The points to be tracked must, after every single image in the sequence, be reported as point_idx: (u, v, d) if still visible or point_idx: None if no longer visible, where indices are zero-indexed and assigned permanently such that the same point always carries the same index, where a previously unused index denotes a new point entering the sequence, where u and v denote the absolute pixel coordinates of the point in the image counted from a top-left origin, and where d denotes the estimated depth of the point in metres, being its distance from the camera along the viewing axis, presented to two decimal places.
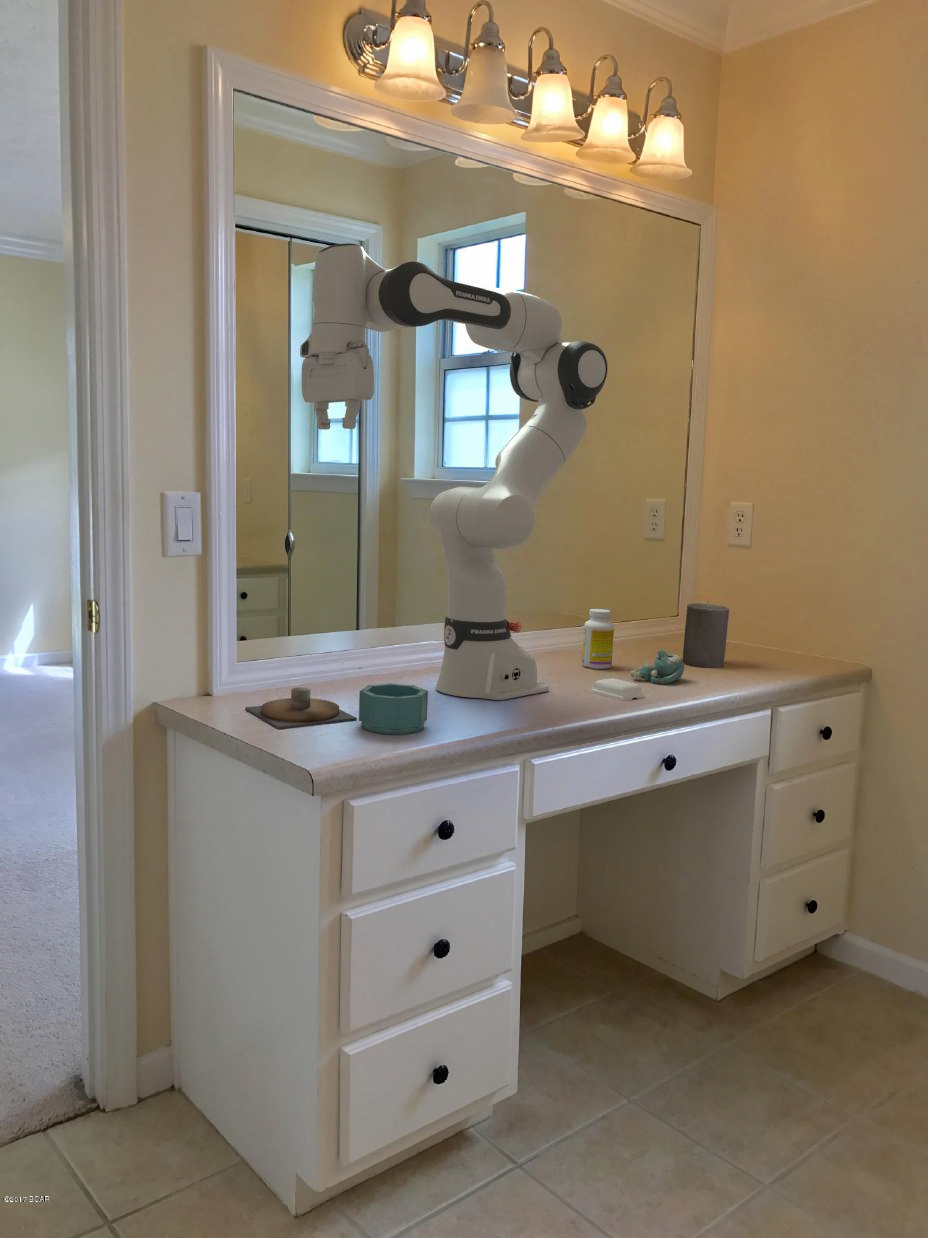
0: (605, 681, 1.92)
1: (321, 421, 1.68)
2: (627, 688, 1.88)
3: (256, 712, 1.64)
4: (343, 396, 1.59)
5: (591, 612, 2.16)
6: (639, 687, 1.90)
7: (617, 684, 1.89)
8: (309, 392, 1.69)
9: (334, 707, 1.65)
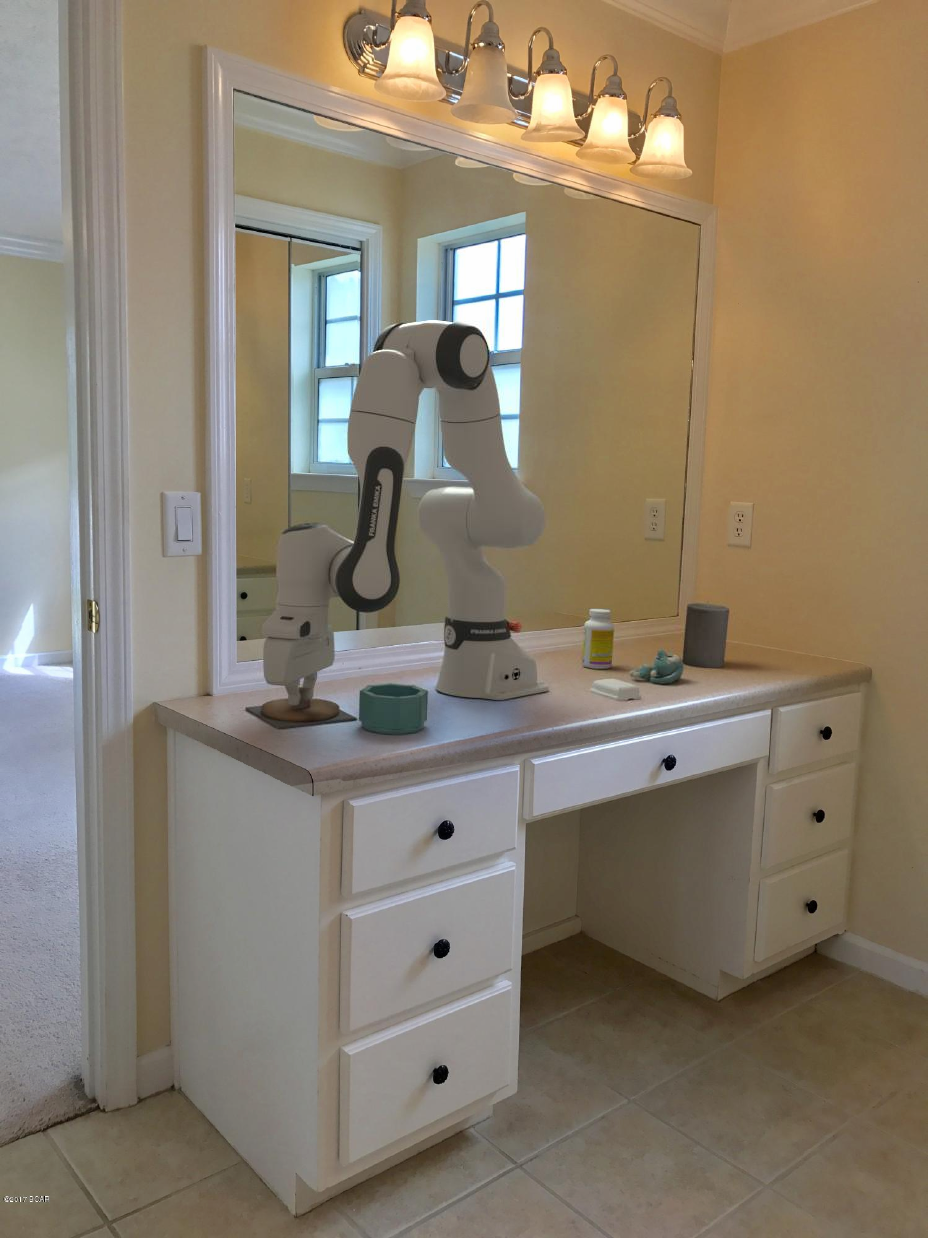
0: (603, 681, 1.91)
1: (301, 696, 1.63)
2: (623, 689, 1.87)
3: (256, 712, 1.64)
4: (325, 667, 1.69)
5: (591, 612, 2.16)
6: (636, 688, 1.89)
7: (613, 685, 1.89)
8: (293, 674, 1.57)
9: (334, 707, 1.65)
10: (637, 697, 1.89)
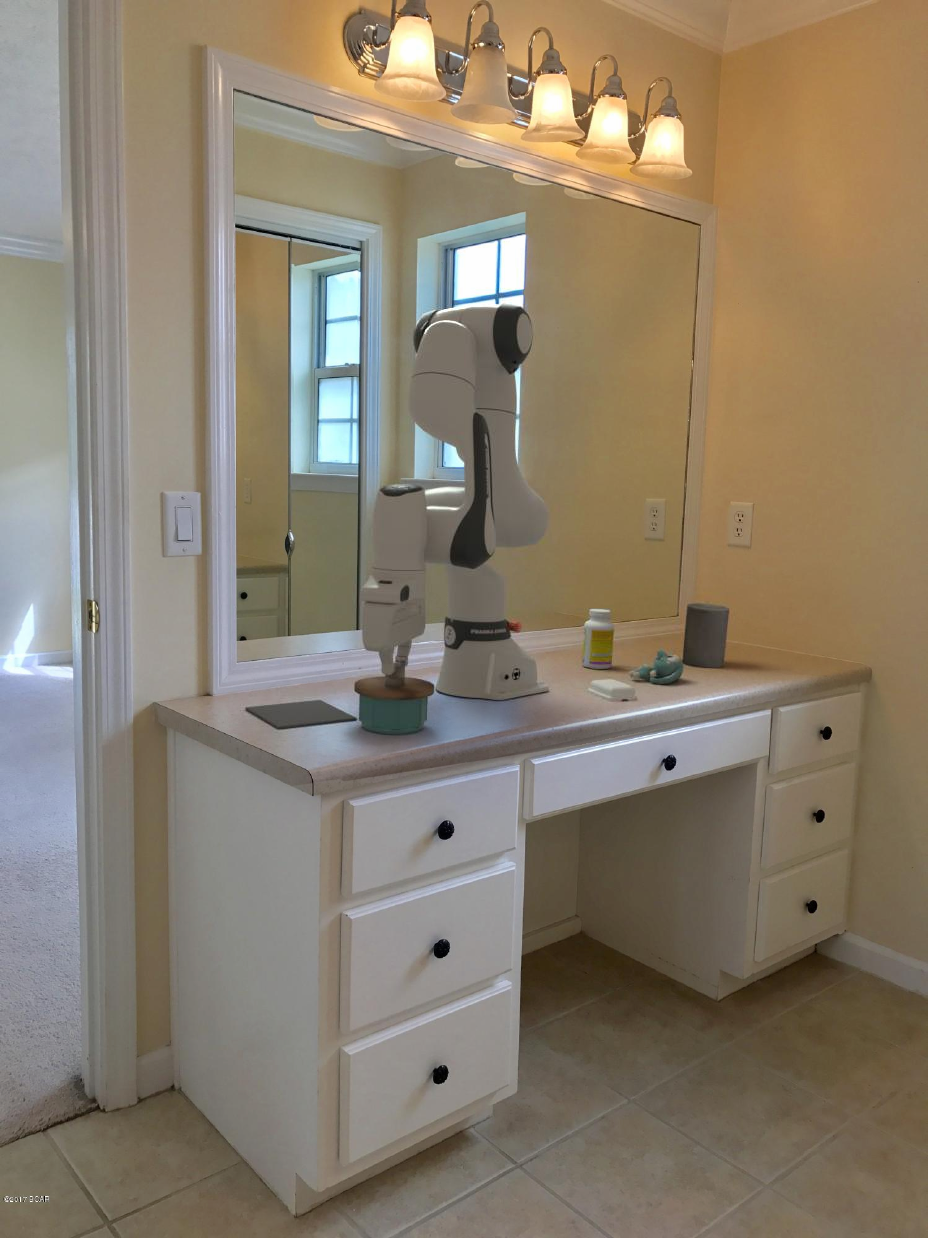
0: (600, 681, 1.91)
1: None
2: (616, 689, 1.86)
3: (256, 712, 1.64)
4: (417, 635, 1.63)
5: (591, 612, 2.16)
6: (632, 689, 1.88)
7: (608, 685, 1.88)
8: (391, 640, 1.51)
9: (429, 685, 1.60)
10: (632, 698, 1.88)
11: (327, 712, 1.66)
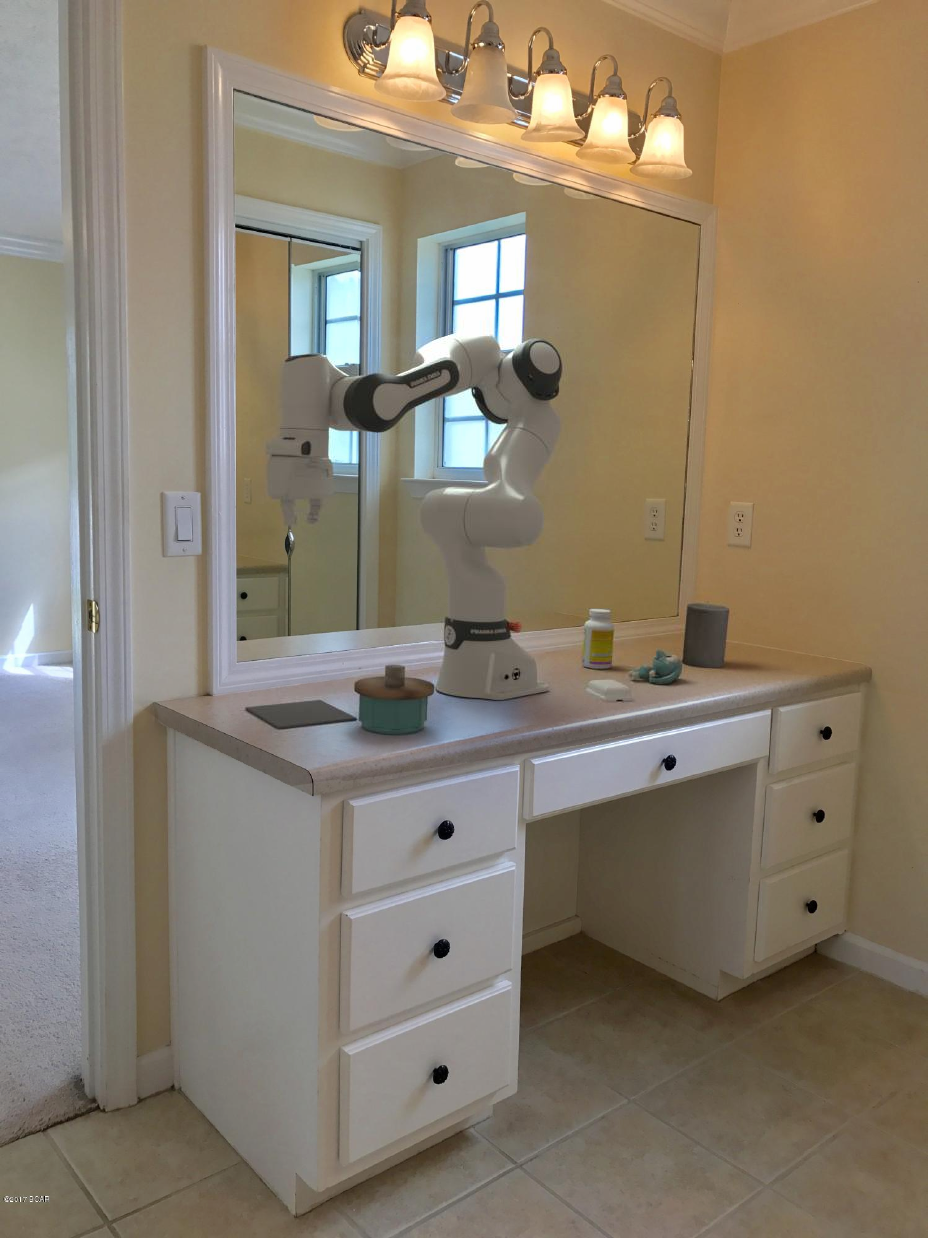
0: (597, 681, 1.91)
1: (296, 518, 1.71)
2: (611, 689, 1.86)
3: (256, 712, 1.64)
4: (325, 497, 1.80)
5: (591, 612, 2.16)
6: (627, 689, 1.87)
7: (604, 685, 1.88)
8: (294, 490, 1.67)
9: (429, 685, 1.60)
10: (627, 699, 1.87)
11: (327, 712, 1.66)
